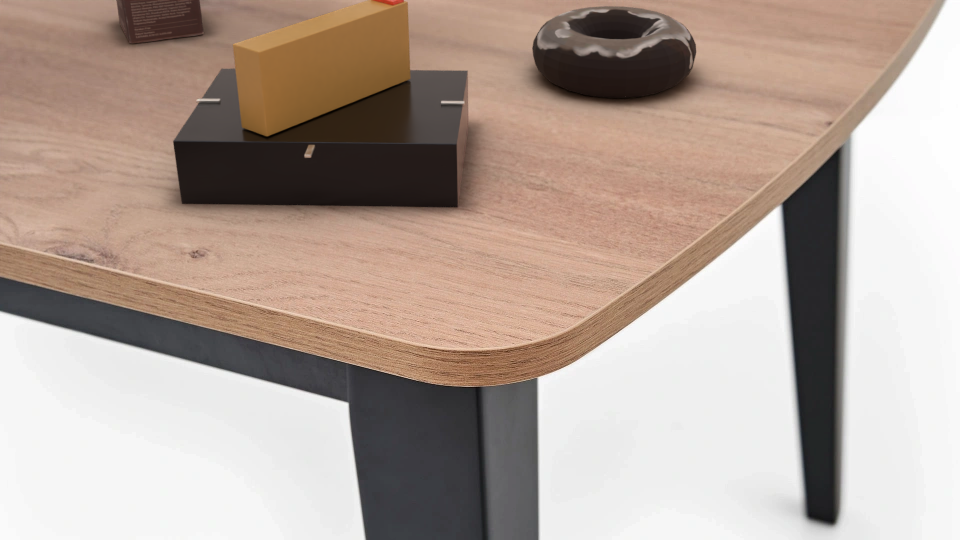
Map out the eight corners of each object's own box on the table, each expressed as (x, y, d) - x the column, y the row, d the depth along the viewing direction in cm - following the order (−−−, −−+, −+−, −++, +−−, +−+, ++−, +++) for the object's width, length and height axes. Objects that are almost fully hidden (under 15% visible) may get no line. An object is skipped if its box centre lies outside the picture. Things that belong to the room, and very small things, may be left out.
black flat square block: (170, 221, 68) (160, 153, 66) (233, 113, 82) (226, 55, 80) (457, 225, 68) (456, 156, 66) (471, 116, 82) (470, 57, 80)
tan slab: (267, 137, 68) (258, 47, 66) (241, 127, 70) (231, 39, 67) (411, 79, 76) (407, -3, 74) (385, 71, 78) (381, -9, 75)
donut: (604, 119, 81) (607, 61, 79) (500, 70, 89) (500, 18, 87) (728, 82, 87) (733, 28, 85) (619, 40, 95) (621, -10, 93)
